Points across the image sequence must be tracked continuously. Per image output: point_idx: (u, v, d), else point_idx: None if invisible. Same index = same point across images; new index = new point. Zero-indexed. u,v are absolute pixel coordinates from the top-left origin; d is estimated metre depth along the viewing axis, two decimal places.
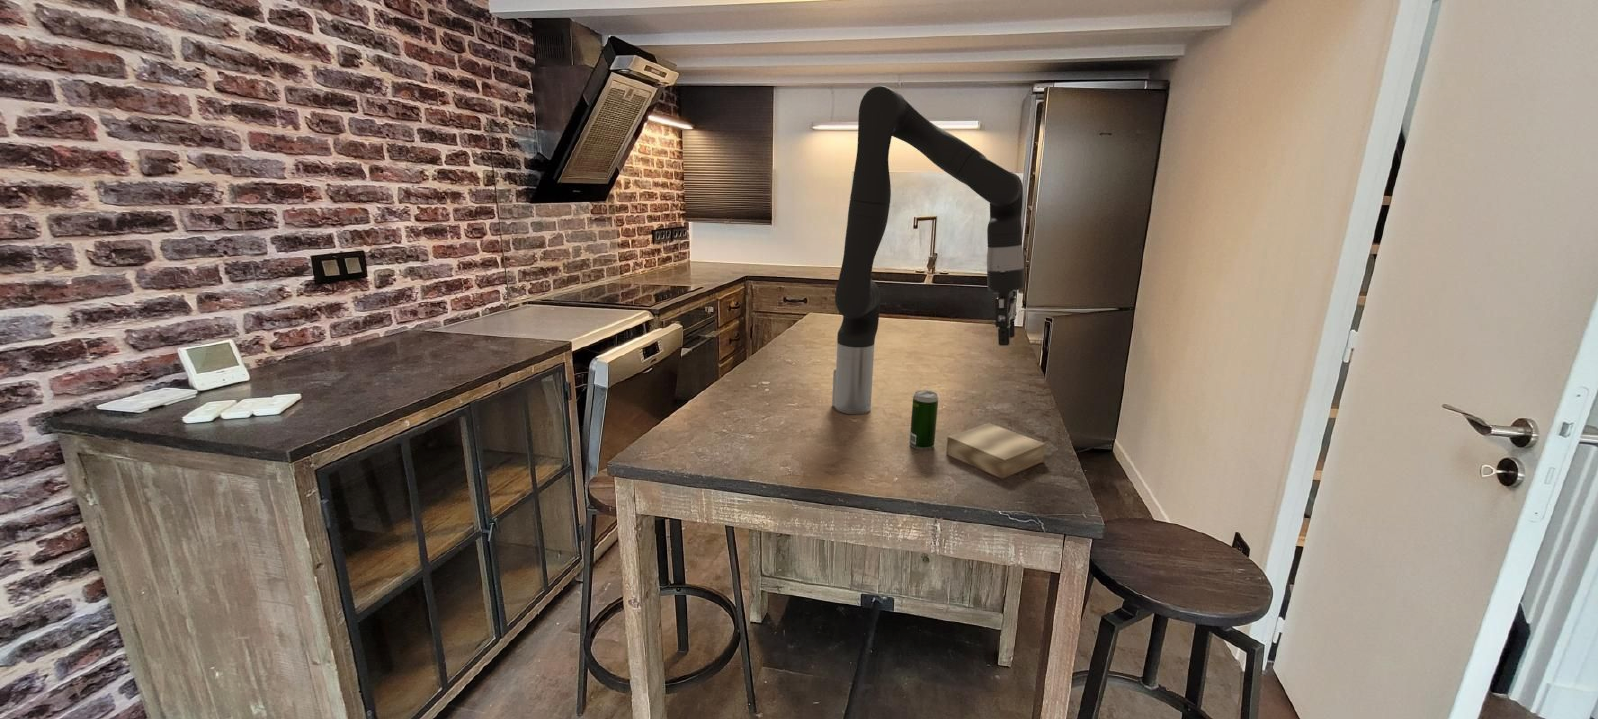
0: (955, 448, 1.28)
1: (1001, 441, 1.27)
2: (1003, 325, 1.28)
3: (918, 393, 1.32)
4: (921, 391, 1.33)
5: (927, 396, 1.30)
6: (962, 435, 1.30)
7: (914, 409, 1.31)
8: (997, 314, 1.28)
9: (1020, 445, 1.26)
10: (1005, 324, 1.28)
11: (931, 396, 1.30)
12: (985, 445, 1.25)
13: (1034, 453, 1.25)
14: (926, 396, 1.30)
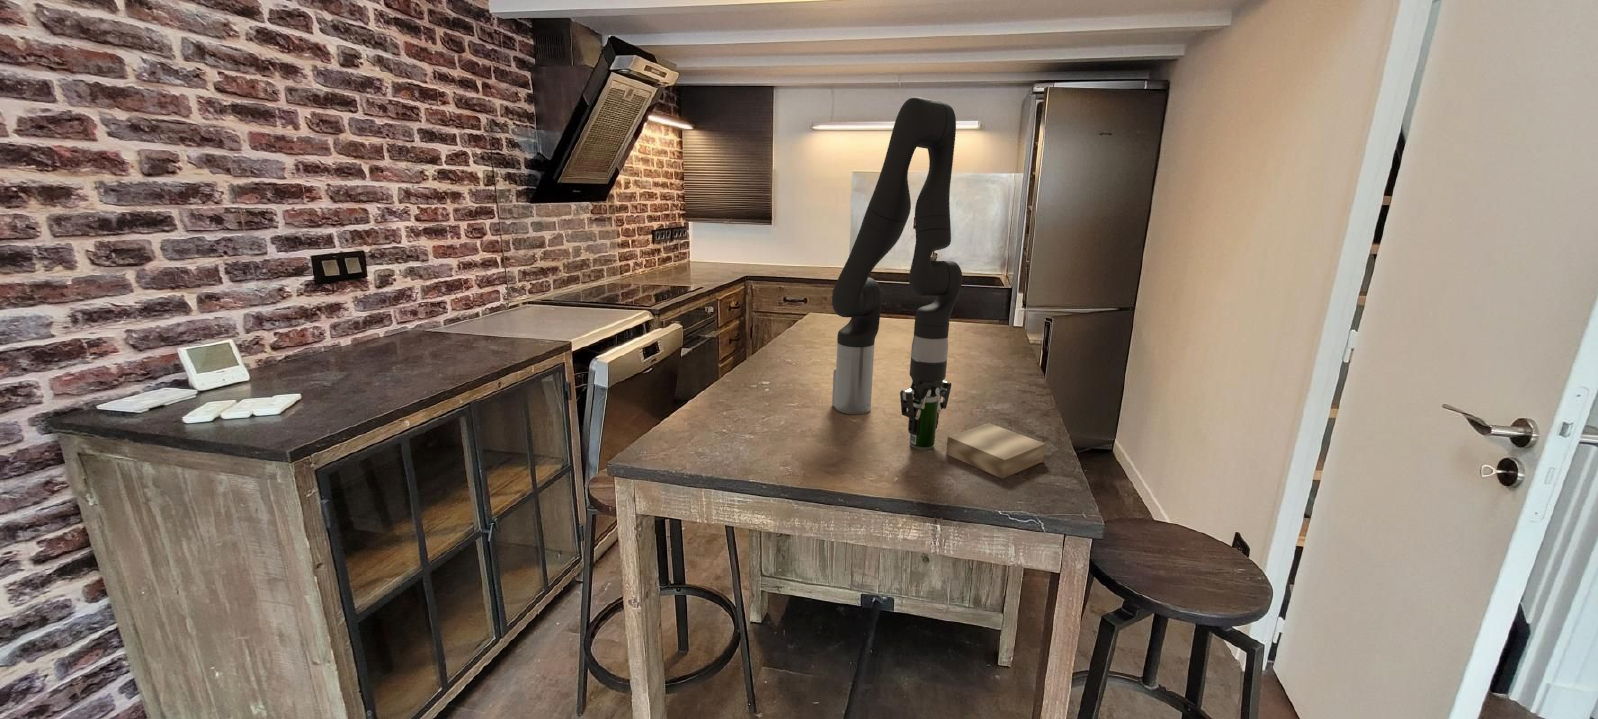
0: (955, 448, 1.28)
1: (1001, 441, 1.27)
2: (907, 416, 1.29)
3: None
4: None
5: None
6: (962, 435, 1.30)
7: (914, 409, 1.31)
8: (902, 405, 1.29)
9: (1020, 445, 1.26)
10: (908, 415, 1.28)
11: (931, 396, 1.30)
12: (985, 445, 1.25)
13: (1034, 453, 1.25)
14: None
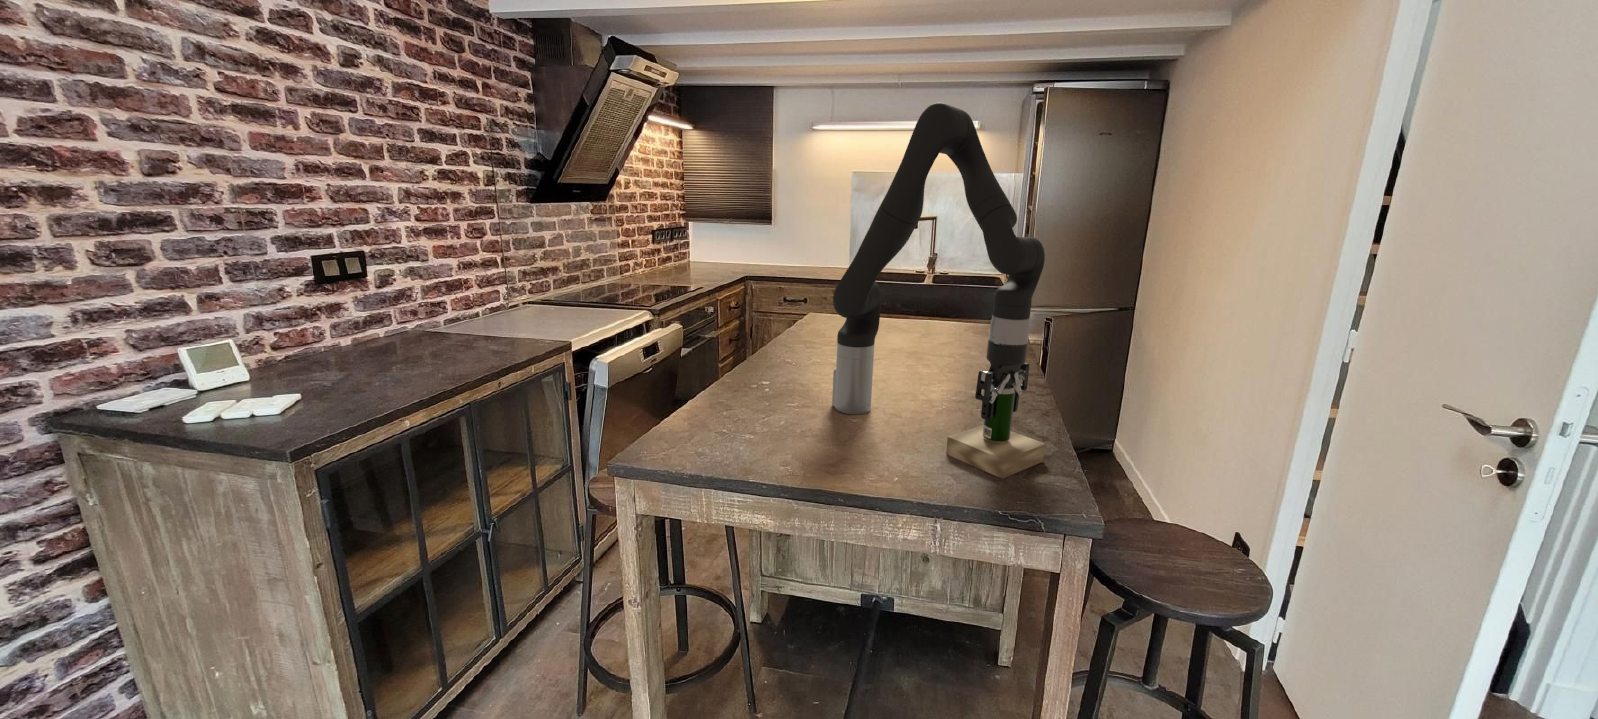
0: (955, 448, 1.28)
1: None
2: (981, 399, 1.21)
3: None
4: None
5: (1004, 387, 1.23)
6: (962, 435, 1.30)
7: None
8: (978, 386, 1.21)
9: (1020, 445, 1.26)
10: (983, 399, 1.21)
11: (1008, 387, 1.24)
12: (985, 445, 1.25)
13: (1034, 453, 1.25)
14: None
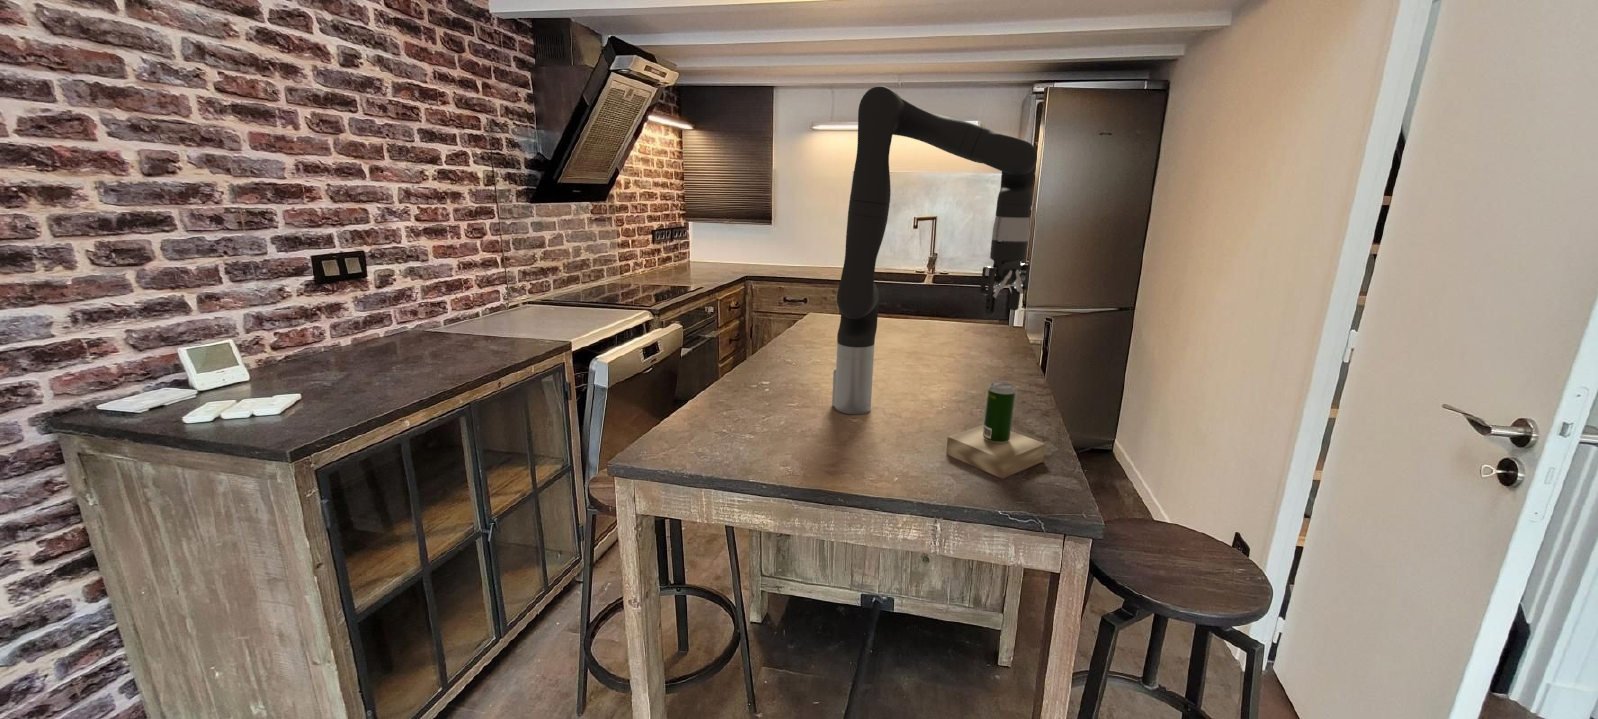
0: (955, 448, 1.28)
1: None
2: (985, 293, 1.32)
3: (994, 385, 1.25)
4: (996, 383, 1.27)
5: (1004, 388, 1.23)
6: (962, 435, 1.30)
7: (990, 401, 1.25)
8: (982, 281, 1.32)
9: (1020, 445, 1.26)
10: (987, 292, 1.32)
11: (1009, 388, 1.24)
12: (985, 445, 1.25)
13: (1034, 453, 1.25)
14: (1003, 388, 1.23)
